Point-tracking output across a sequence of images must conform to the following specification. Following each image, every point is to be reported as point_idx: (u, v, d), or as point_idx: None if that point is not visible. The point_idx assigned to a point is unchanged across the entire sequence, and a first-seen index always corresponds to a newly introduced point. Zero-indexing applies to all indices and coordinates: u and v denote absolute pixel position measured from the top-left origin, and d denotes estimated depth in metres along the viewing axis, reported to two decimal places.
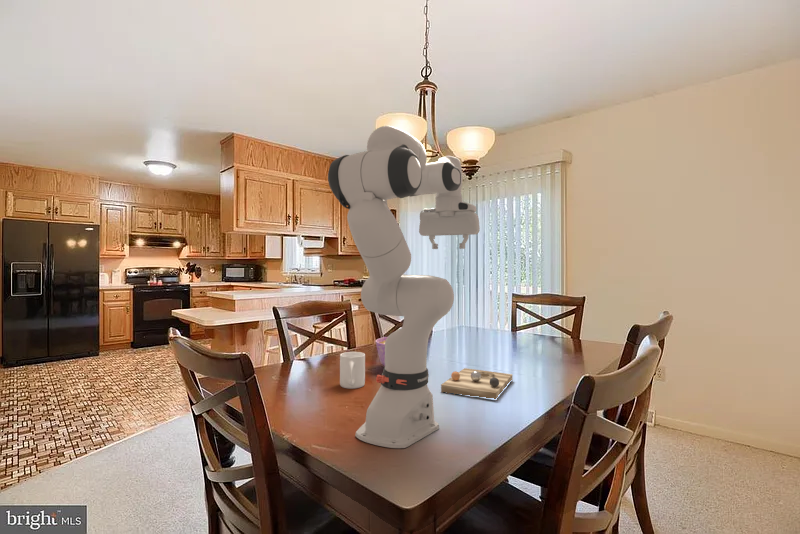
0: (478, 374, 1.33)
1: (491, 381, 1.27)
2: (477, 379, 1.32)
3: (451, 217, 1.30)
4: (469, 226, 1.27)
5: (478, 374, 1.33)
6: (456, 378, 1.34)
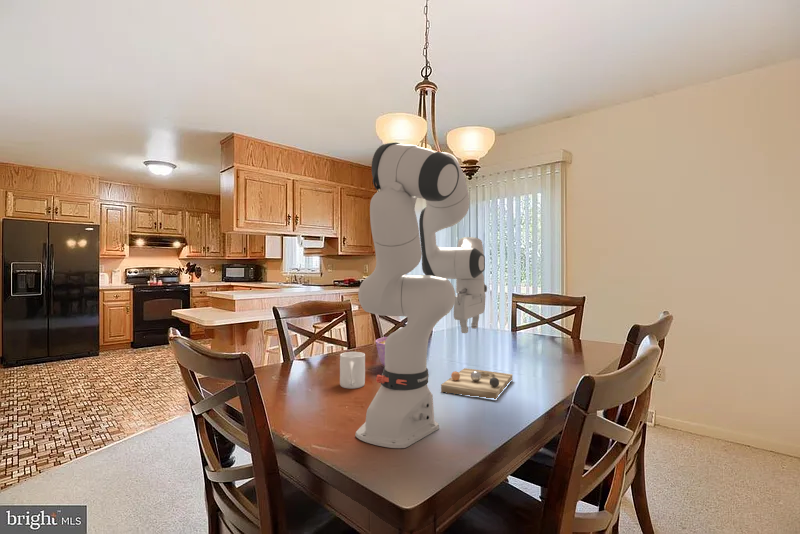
0: (478, 374, 1.33)
1: (491, 381, 1.27)
2: (477, 379, 1.32)
3: (476, 299, 1.29)
4: (482, 306, 1.34)
5: (478, 374, 1.33)
6: (456, 378, 1.34)
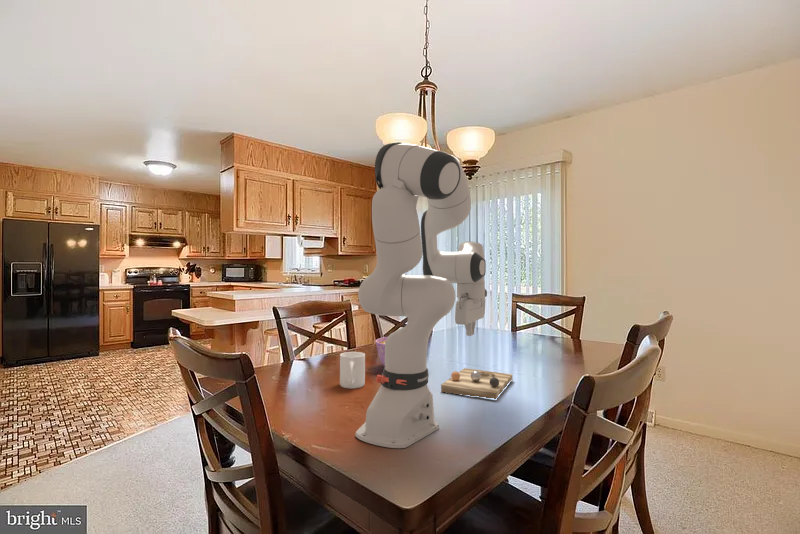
0: (478, 374, 1.33)
1: (491, 381, 1.27)
2: (477, 379, 1.32)
3: (477, 303, 1.29)
4: (482, 311, 1.34)
5: (478, 374, 1.33)
6: (456, 378, 1.34)
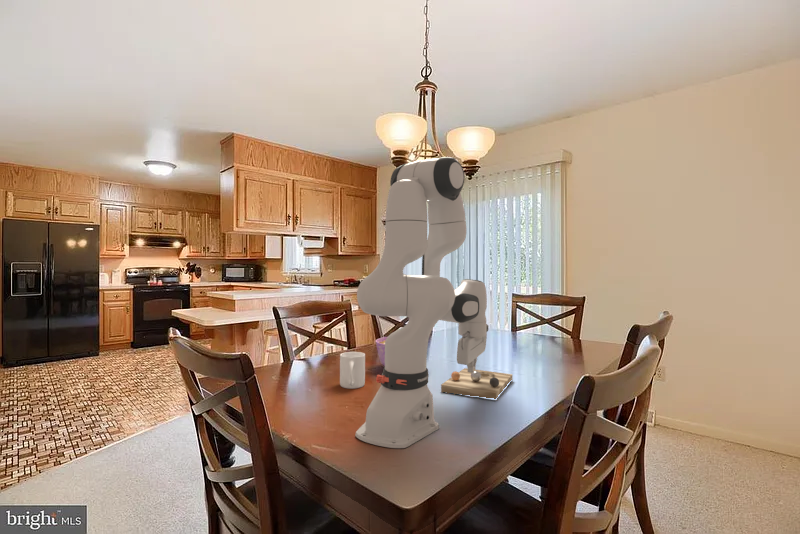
0: (478, 374, 1.33)
1: (491, 381, 1.27)
2: (477, 379, 1.32)
3: None
4: (483, 345, 1.34)
5: (478, 374, 1.33)
6: (456, 378, 1.34)
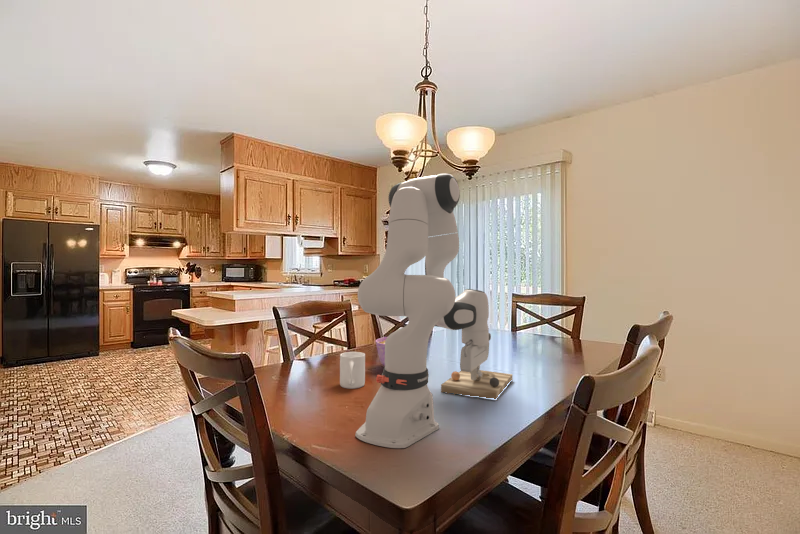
0: (480, 371, 1.35)
1: (491, 381, 1.27)
2: None
3: None
4: (486, 353, 1.38)
5: None
6: (456, 378, 1.34)
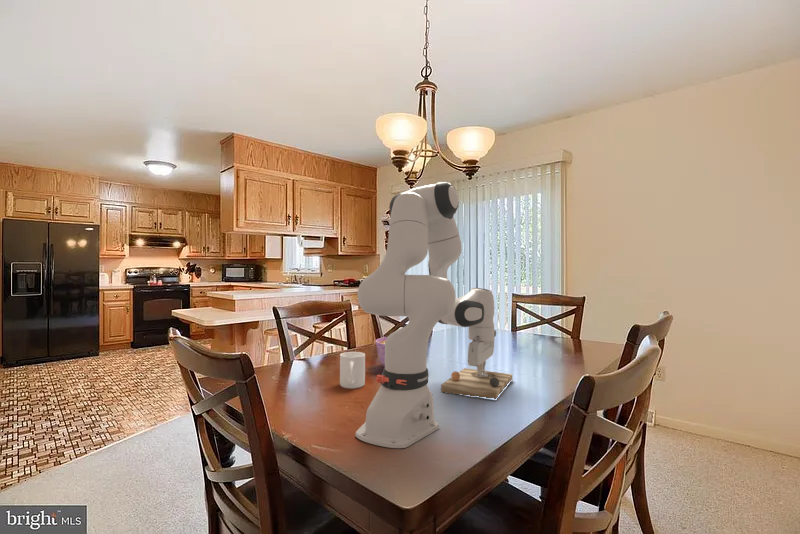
0: (486, 375, 1.41)
1: (491, 381, 1.27)
2: None
3: None
4: (491, 349, 1.45)
5: (486, 374, 1.41)
6: (456, 378, 1.34)
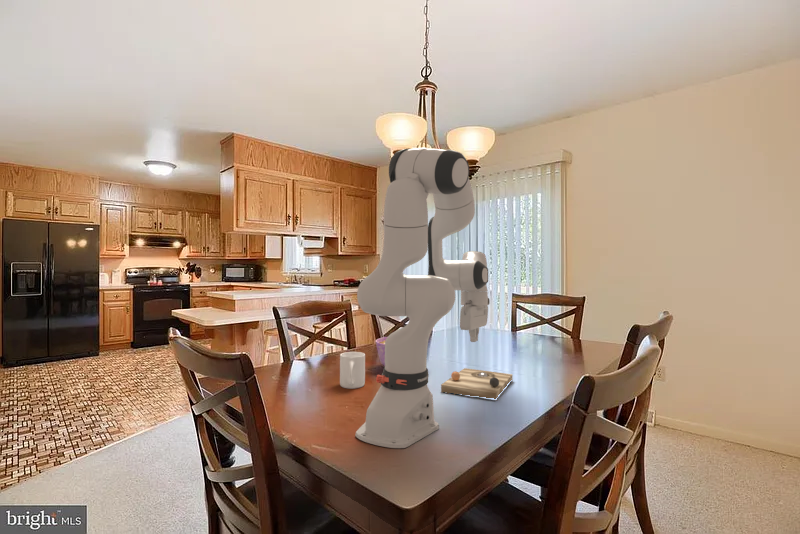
0: None
1: (491, 381, 1.27)
2: None
3: (480, 310, 1.34)
4: (485, 319, 1.39)
5: (485, 376, 1.40)
6: (456, 378, 1.34)
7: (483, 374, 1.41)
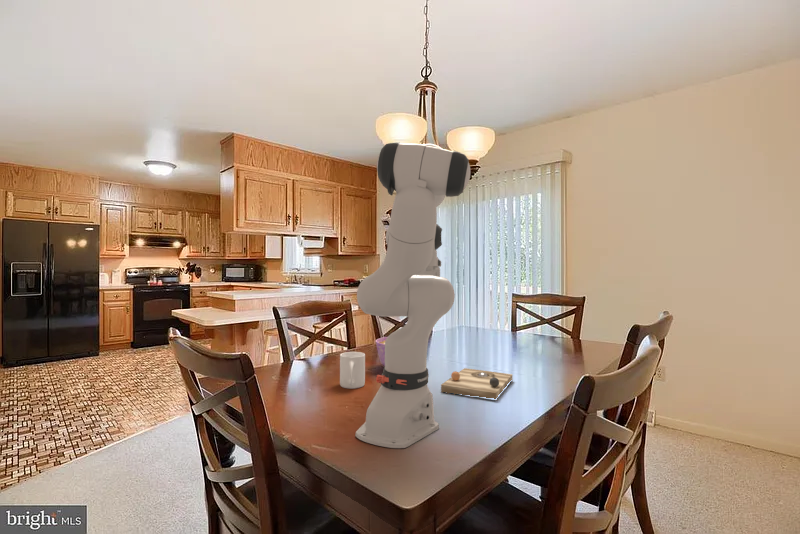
0: None
1: (491, 381, 1.27)
2: None
3: (430, 271, 1.40)
4: None
5: (485, 376, 1.40)
6: (456, 378, 1.34)
7: (483, 374, 1.41)
